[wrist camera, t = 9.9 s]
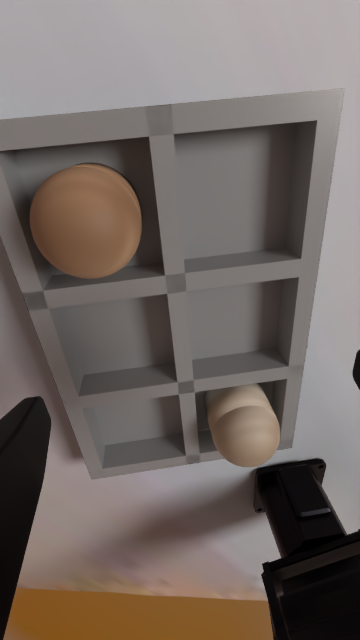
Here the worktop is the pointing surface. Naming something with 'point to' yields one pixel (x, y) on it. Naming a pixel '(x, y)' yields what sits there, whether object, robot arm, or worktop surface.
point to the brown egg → (87, 220)
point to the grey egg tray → (179, 266)
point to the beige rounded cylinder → (242, 424)
